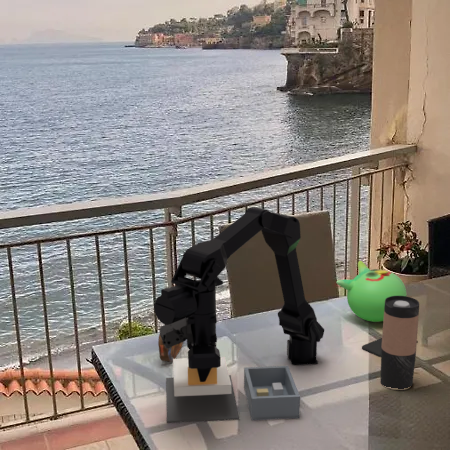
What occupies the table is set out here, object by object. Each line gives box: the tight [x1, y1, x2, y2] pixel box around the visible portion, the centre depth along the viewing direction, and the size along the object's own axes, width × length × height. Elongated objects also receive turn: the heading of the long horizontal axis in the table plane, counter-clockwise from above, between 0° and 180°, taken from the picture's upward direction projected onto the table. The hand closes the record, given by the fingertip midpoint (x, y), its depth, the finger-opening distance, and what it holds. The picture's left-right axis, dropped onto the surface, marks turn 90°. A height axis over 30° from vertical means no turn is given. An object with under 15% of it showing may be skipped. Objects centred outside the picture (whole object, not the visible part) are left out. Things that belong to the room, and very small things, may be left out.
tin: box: [157, 333, 184, 363], centre depth 174 cm, size 15×3×8 cm, turn 168°
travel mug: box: [380, 295, 420, 389], centre depth 157 cm, size 8×8×20 cm
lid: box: [172, 356, 232, 396], centre depth 151 cm, size 12×16×6 cm
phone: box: [361, 337, 418, 358], centre depth 180 cm, size 7×1×15 cm
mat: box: [165, 374, 240, 424], centre depth 153 cm, size 15×19×1 cm
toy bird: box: [336, 260, 407, 323], centre depth 195 cm, size 18×17×15 cm
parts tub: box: [243, 365, 301, 421], centre depth 151 cm, size 10×14×5 cm
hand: (202, 379), depth 145 cm, fingers closed on lid
